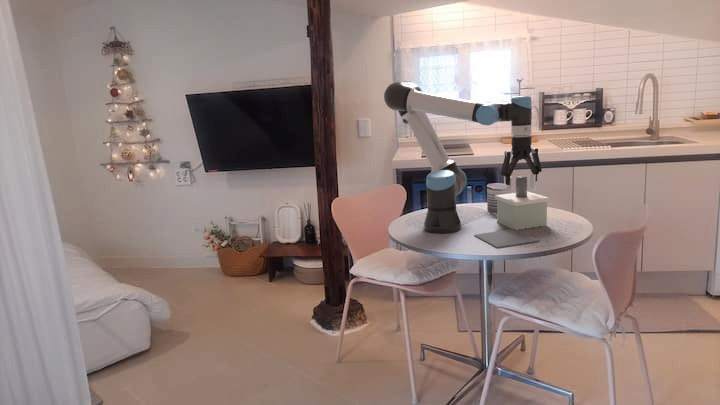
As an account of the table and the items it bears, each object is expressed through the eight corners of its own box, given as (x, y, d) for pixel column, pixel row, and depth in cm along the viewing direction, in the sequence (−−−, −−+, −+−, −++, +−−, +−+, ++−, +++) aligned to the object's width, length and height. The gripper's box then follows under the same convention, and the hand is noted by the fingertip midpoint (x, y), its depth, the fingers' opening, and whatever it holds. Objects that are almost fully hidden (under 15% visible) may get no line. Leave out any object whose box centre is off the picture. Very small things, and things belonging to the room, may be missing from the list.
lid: (515, 207, 189) (514, 181, 187) (495, 200, 204) (495, 176, 201) (548, 203, 193) (549, 177, 191) (527, 196, 207) (527, 172, 205)
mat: (496, 248, 172) (496, 246, 172) (474, 235, 188) (474, 234, 188) (539, 241, 176) (539, 240, 176) (513, 230, 192) (513, 228, 192)
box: (515, 230, 192) (515, 205, 190) (497, 222, 205) (497, 198, 203) (546, 225, 195) (547, 201, 193) (526, 217, 208) (526, 195, 206)
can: (500, 206, 231) (500, 181, 229) (518, 210, 221) (518, 184, 219) (481, 210, 226) (481, 185, 224) (499, 215, 216) (498, 188, 214)
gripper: (500, 139, 186) (501, 196, 191) (552, 134, 191) (551, 189, 196) (491, 137, 194) (491, 192, 198) (540, 132, 199) (540, 186, 203)
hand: (521, 191), depth 197 cm, fingers open, 10 cm apart
